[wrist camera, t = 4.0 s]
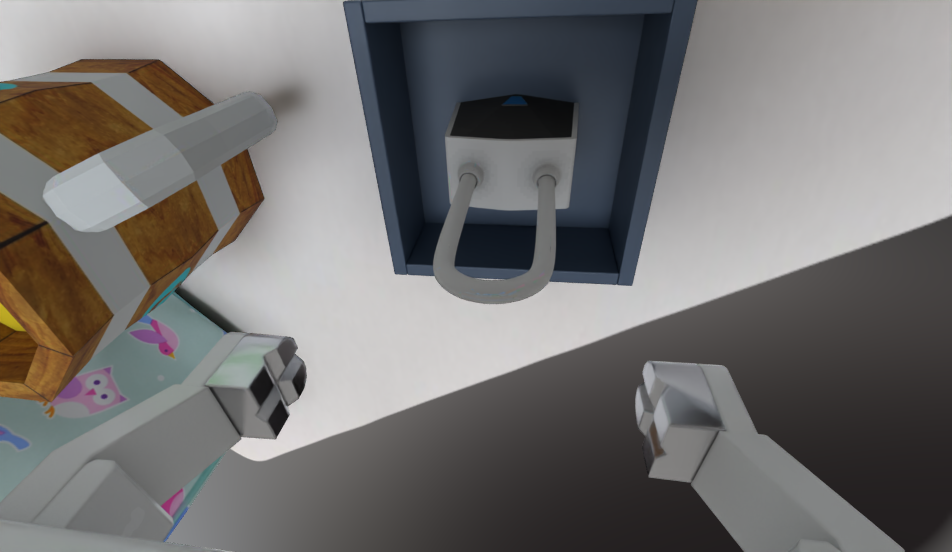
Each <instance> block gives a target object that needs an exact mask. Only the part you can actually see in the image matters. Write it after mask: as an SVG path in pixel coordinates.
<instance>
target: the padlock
mask: <svg viewBox="0 0 952 552" xmlns="http://www.w3.org/2000/svg"><path fill="white" fill-rule="evenodd" d="M578 110H579V103H574V102H567V101H561V100H554V99H548V98H541V97H535V96H528V95H522V94H512V95H505V96H499V97H492V98H486V99H479V100H473V101H466V102H461V103H456V106H455V108H454V111H453V114H452V117H451V120H450V122H449V125H448V128H447V131H446V134H445V146H446V159H447V173H448V187H449V200H450V204H451V207H450V210H449V212H448V215H447V217H446V220H445V223H444V226H443V229H442V231H441V234H440V237H439V241H438V244H437V247H436V251H435V255H434V261H433V271H434V276H435V278H436V280H437V282H438V283H439V284H440V285H441V286H442V287H443V288H444V289H445V290H446V291H448V292H449V293H451V294H453V295H455V296H457V297H459V298H461V299H464V300H468V301H472V302H476V303H483V304H503V303H511V302H515V301H520V300H523V299H526V298H528V297H530V296H533V295H534V294H536V293H538V292H539V291H541V290H542V289H543V288H544V287H545V286H546V285H547V284H548V282H549V280H550V278H551V276H552V273H553V269H554V264H555V253H556V210H555V209H566V208H568V207H569V203H570V194H571V185H572V176H573V167H574V159H575V150H576V141H577V127H578ZM469 207H477V208H486V209H496V210H538V211H537V230H536V244H535V253H534V260H533V264H532V267H531V269H530V270H529V271H528V272H526V273H525V274H523V275H521V276H518V277H515V278H511V279H506V280H481V279H475V278H472V277H469V276H466V275H464V274H462V273H460V272H459V271H457V270H456V269H455V266H454V261H455V255H456V251H457V246H458V242H459V238H460V235H461V231H462V228H463V224H464V221H465V218H466V214H467V211H468V208H469Z"/></svg>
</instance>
